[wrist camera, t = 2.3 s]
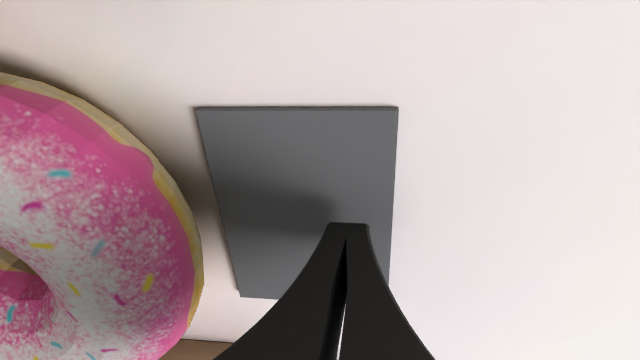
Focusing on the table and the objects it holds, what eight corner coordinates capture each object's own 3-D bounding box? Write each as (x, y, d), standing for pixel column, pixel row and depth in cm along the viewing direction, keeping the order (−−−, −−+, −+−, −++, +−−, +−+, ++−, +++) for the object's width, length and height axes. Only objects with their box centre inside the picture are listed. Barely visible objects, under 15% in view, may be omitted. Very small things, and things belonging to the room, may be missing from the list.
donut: (75, -26, 12) (-91, 9, 8) (280, 282, 18) (251, 393, 14) (-169, 122, 16) (-360, 196, 12) (66, 329, 22) (-5, 424, 18)
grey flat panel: (387, 300, 17) (387, 306, 17) (242, 291, 18) (240, 296, 18) (398, 107, 12) (398, 110, 12) (198, 107, 13) (195, 110, 13)
